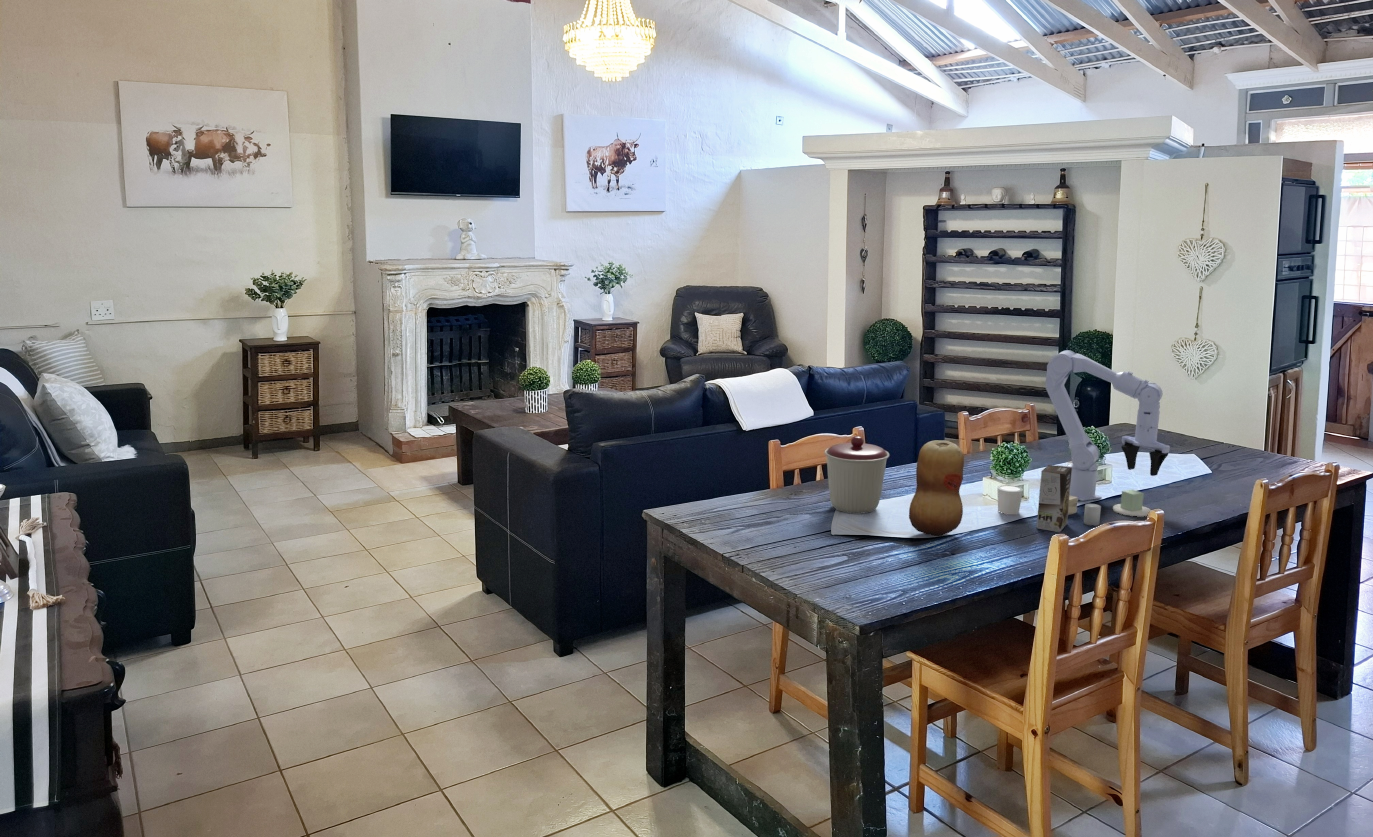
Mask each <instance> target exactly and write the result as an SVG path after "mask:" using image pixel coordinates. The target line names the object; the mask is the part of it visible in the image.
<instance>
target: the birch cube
mask: <svg viewBox="0 0 1373 837" xmlns="http://www.w3.org/2000/svg"><path fill="white" fill-rule="evenodd" d="M1078 501H1079V500H1078V497H1074V496H1069V507H1068V516H1069V515H1074V514H1076V513H1077V509H1078Z"/></svg>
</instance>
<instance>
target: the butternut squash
mask: <svg viewBox="0 0 1373 837" xmlns="http://www.w3.org/2000/svg"><path fill="white" fill-rule="evenodd" d="M917 457H918V459H917V462H916V469H915V474H916V478H915V481H916V488H915V493H914V495H913V497H912V499H911V502H910V504H909V510H908V519H909V521H910V524H911V526H912V527H913V528H914V529H915V530H916V531H917V532H919V533H922V534H924V535H930V536H933V537H942V536H945V535H947V534H949V533H951V532H953V531H955V530H956V529H957V528H958V527H959V526H960V524H961V522H962V519H963V514H964V508H963V507H964V506H963V501H962V498H961V495H960V489H961V486H962V483H963V480H964V466H965V465H964V464H965V463H964V462H965V461H964V460H965V458H964V452H963V450H962V448H960V447H959V445H958V444H956V443H953V441H952V442H951V441H949V440H940V439H939V440H931V441H928V442H926V443H924V444H923V446H921V448H920V450H919V453H918V456H917Z"/></svg>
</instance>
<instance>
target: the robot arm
mask: <svg viewBox="0 0 1373 837" xmlns="http://www.w3.org/2000/svg"><path fill="white" fill-rule="evenodd" d="M1049 360H1050V361H1049V362H1048V363H1047V365H1046V374H1045V382H1044V386H1045V390H1046V392H1047V394H1048V396H1049V398H1050V401H1051V404H1052V405H1053V408H1054V410H1055V413H1056V414H1057V416H1058V419H1059V421H1060V423H1061V426H1062V428H1063V430H1064V433H1065V435H1066V437H1067V439H1068V446H1069V450H1070V453H1071V458H1070V459H1071V464H1068V465H1066V467H1072V473H1071V484H1070V496H1074V497H1078V501H1081V502H1084V501H1090V500H1098V499H1102V496H1101V495H1097V494H1096V489H1097V478H1098V466H1097V464H1096V462H1097V460H1099V458H1100V455H1101V454H1100V449H1099V448H1098V446H1097V445H1095V444H1094V443H1093V441H1092V439H1091V438H1090V437H1089V435H1087V433H1086V431H1085V429H1084V427H1083V425H1082V422H1081V420H1080V418H1079V415H1078V413H1077V411H1076V409H1075V406H1074V405H1073V403H1072V400H1071V398H1070V396H1069V394H1068V390H1067V388H1066V387H1065V384H1066V382H1067V380H1068V378H1069V375H1070V374H1071V373H1081V372H1082V373H1083V372H1084V373H1087V374H1090V375H1092V376H1095V377H1097V378H1099V379H1102V380H1104V381H1106V382H1107V383H1108V382H1109V383H1111V385H1112V387H1113V390H1115V391H1118V392H1120V393H1121V394H1124V395H1126V396H1128V397H1130V398H1133V399H1137V401H1138V408H1137V414H1136V425H1135V432H1134V433H1135V434H1134V436H1129V435H1122V437H1121V444H1123V445H1121V450H1122V451H1123V454H1124V457H1125V460H1126V466H1127V470H1129V471H1131V470H1135V469H1136V468H1135V467H1136V465H1137V464H1136V462H1137V457H1138V456H1137V455H1138V452H1139V449H1140V448H1144V449H1149V450H1152V451H1149V459H1150V469H1149V470H1150V471H1149V474H1150V476H1152V477H1155V476H1158V473H1159V471H1160V468H1161V466H1162V464H1163V462H1164V461H1165V459H1166V458H1167V457H1168V456H1169V453H1170V450H1171V446H1170V445H1168V444H1164V443H1161V442H1159V441H1157V439H1158V431H1159V424H1160V423H1159V422H1160V408H1161V402H1160V400H1162V398H1163V390H1162V389H1163V388H1161V387H1160V385H1158V384H1157V383H1155V382H1149V381H1150V380H1147V379H1145V380H1144V379H1141V378H1139V377H1137V376H1136V375H1133V374H1134V373H1133V372H1132V371H1130V370H1129V371H1127V372H1126V371H1124V370H1123V371H1121V372H1116V371H1114V370H1112V369H1111V368H1108V366H1107V367H1106V366H1105V365H1102V364H1101V363H1098V362H1097V361H1095V360H1093V359H1091V358H1089V357H1087V356H1085V355H1083V354H1081V353H1076V352H1074V351H1073V350H1070V349H1069V350H1068V349H1067V350H1063V351H1060V352H1059V353H1056V354H1055V355H1053V356H1052V357H1051V359H1049Z"/></svg>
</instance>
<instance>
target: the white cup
mask: <svg viewBox="0 0 1373 837" xmlns="http://www.w3.org/2000/svg"><path fill="white" fill-rule="evenodd" d="M1023 492H1024V489H1023V488H1022V487H1020V486H1017V485H1010V484H1009V485H1008V484H1003V485H999V486H997V512H998V511H1000V512H1002V513H1004V514H1003V515H1007V514H1016V515H1019V513H1020V509H1021V508H1020V507H1021V502H1022V498H1023ZM1000 512H999V513H1000ZM1002 513H1001V514H1002Z"/></svg>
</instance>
